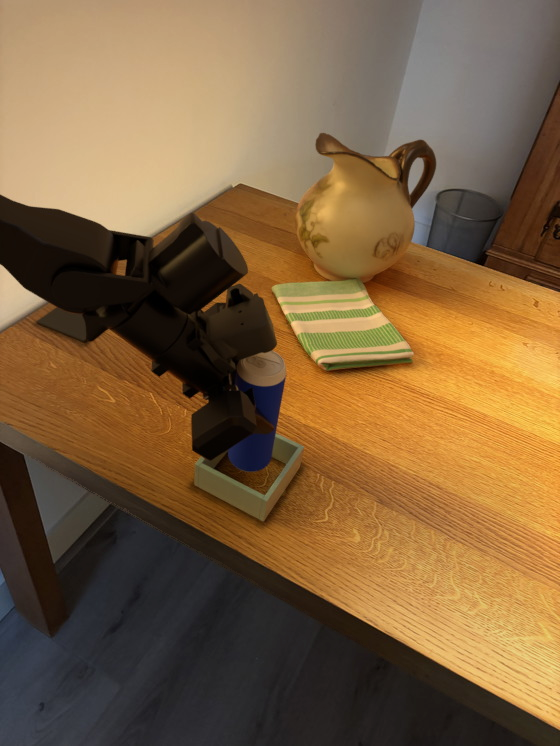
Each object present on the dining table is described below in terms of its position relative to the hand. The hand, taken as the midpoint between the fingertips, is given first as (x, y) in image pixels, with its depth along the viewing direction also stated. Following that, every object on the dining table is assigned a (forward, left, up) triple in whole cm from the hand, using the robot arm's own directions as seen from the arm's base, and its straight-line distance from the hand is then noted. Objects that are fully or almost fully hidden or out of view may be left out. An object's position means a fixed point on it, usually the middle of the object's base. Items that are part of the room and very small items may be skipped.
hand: (267, 413), depth 60 cm
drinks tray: (-1, 0, -11) cm, 11 cm away
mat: (-13, +39, -11) cm, 43 cm away
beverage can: (-1, 0, -8) cm, 8 cm away
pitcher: (+39, +41, -11) cm, 57 cm away
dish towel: (+27, +24, -11) cm, 38 cm away
